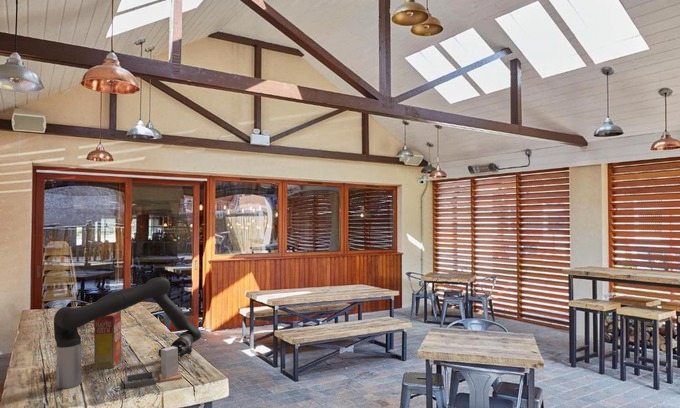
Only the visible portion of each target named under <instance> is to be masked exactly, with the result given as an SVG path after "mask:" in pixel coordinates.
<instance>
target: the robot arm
mask: <svg viewBox="0 0 680 408" xmlns="http://www.w3.org/2000/svg"><path fill="white" fill-rule="evenodd" d="M170 288H171V281H169V279H168V278H166V277H162V276H157V277H153V278H151V279H148V280H147V281H146V282H145V283H143V284H141V285H137V286H132V287H128V288H122V289H120V290H119V289H118V290H116V291H113V292H109V293H108V294H106V295H103V296H102V297H101V298H99V299H97V300H96V301H93V302H92V303H89V304H86V305H83V306H80V307H71V306H63V307H61V308H59V309H58V310H57V311H56V312H55V314H54V318H53V331H54V332H53V333H54V334H53V335H54V341H55V343H56V344H55V345H56V348H55V349H56V365H55V389H56V390H57V389H71V388H75V387H77V386H79V385H81V384H82V379H83V378H82V376H83V375H82V341H81V340H82V338H81V336H80V333H79V331H78V328H80V327H83V326H84V325H86V324H89V323H91V322H94V320H95V319H98V318H101V317H104V316H107V315H110V314H113V313H116V312H118V311H121V312H122V311H123V310H125V309H128V308H130V307H133V306H136V305H137V304H140V303H141V302H143V301H146V300H149V299H152V300H154V302H155V303H156V304H157V305H158V306H159V307H160V308H161V309H162V311H163V312H164V314H165V315H166V316H167V317H168V319H169V320H170V322H171V324H172V325H173V326H174V328H175V329H176V331H182V330H186V331H184V332H182V333H180V334H179V337H177V338H176V339H175V340H174V341H173V342H172V343H171V345H170V347H172V346H173V347H177V348H178V357H180V358H183V357H185V356H186V355H191V354H192V352H193V343H195V342H197V341H199V340H200V339H201V338H202V332H201V330H200V329H199V328H198V327H197V326H195V325H194V324H193V323H192V322H191V321H190V320H189V319H188V318H187V316H186V314H185V313H184V311H183V310H182V309H181V308H180V307H179V306H178V305H177V304H176V303H175V302H173V301H172V300H171V299H170V297H169V296H168V295H167V294H168V292H169V290H170ZM164 348H166V346H163V347H161V348H159V349H158V356H159V358H161V349H164Z"/></svg>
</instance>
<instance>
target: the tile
mask: <svg viewBox="0 0 680 408" xmlns="http://www.w3.org/2000/svg"><path fill="white" fill-rule="evenodd" d="M158 375H159V377H158V378H159V382H160V383H163V382H169V381H176V380H181V379H183V376H182V372H181V370H178V374H177V375H174V376H171V377H168V378H165V377H162V373H159V374H158Z"/></svg>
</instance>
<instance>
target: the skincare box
mask: <svg viewBox="0 0 680 408" xmlns="http://www.w3.org/2000/svg"><path fill="white" fill-rule="evenodd" d="M160 349H161V348H160ZM160 364H161V366H160V368H161V369H160V370H161V374H162V377H165V378H168V377H171V376H174V375H177V374H178V371H179V356H178V348H177V347H173V346H172V347H171V346H168V347H165V348H164V349H161V357H160Z"/></svg>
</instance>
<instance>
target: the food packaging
mask: <svg viewBox="0 0 680 408" xmlns="http://www.w3.org/2000/svg"><path fill="white" fill-rule="evenodd" d="M93 322H94V323H93V327H94V330H93V332H94V333H93V334H94V343H93V344H94V346H93V347H94V354H93V355H94V359H93V360H94V366H93V367H94V368H93V370H105V369H114V368H115V367H116V366H117V365H118V364H119V363H120V362H121V361H122V310H121V311H118V312H116V313H113V314H110V315H107V316H104V317H101V318H98V319H95V320H93Z"/></svg>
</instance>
